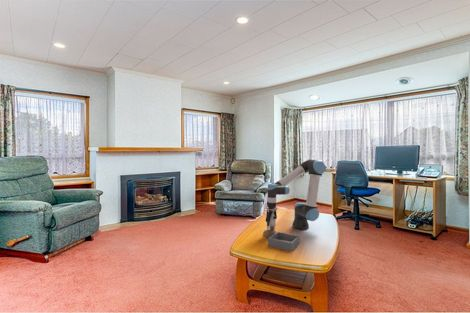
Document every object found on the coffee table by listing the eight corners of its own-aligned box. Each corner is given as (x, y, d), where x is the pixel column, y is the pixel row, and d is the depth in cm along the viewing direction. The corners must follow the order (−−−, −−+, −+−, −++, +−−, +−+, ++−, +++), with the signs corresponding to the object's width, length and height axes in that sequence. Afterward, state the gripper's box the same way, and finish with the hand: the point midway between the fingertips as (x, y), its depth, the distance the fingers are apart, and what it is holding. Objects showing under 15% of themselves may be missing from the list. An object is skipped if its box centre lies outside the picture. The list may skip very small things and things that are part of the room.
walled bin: (277, 238, 207) (277, 231, 207) (299, 243, 197) (299, 236, 197) (268, 245, 192) (268, 238, 192) (291, 251, 182) (291, 243, 182)
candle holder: (266, 238, 208) (267, 209, 208) (262, 233, 219) (263, 206, 218) (279, 237, 210) (280, 209, 210) (274, 233, 221) (275, 206, 220)
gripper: (273, 199, 225) (272, 223, 226) (261, 203, 206) (261, 230, 207) (281, 200, 221) (280, 225, 222) (270, 205, 202) (269, 232, 203)
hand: (271, 228), depth 215 cm, fingers open, 10 cm apart
